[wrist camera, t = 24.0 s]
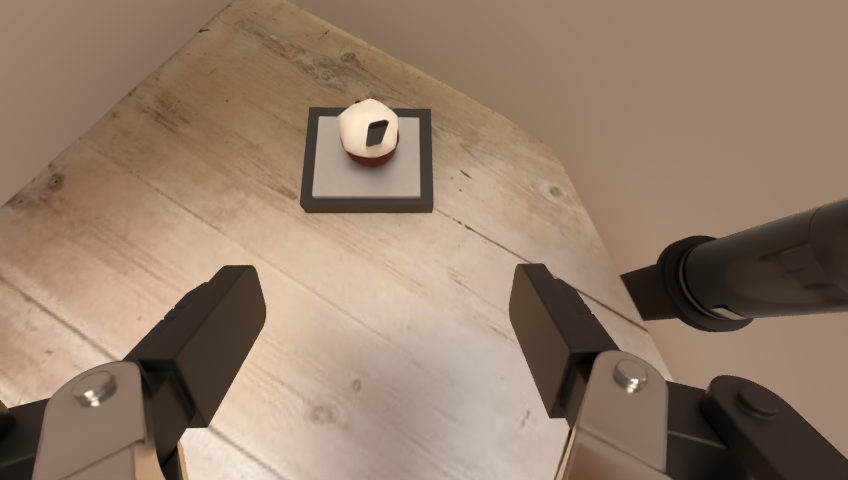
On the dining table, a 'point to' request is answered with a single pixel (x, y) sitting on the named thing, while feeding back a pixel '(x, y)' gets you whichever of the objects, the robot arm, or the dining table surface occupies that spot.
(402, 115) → the scale
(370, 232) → the dining table surface
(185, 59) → the dining table surface
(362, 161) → the cocoa
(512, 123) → the dining table surface
